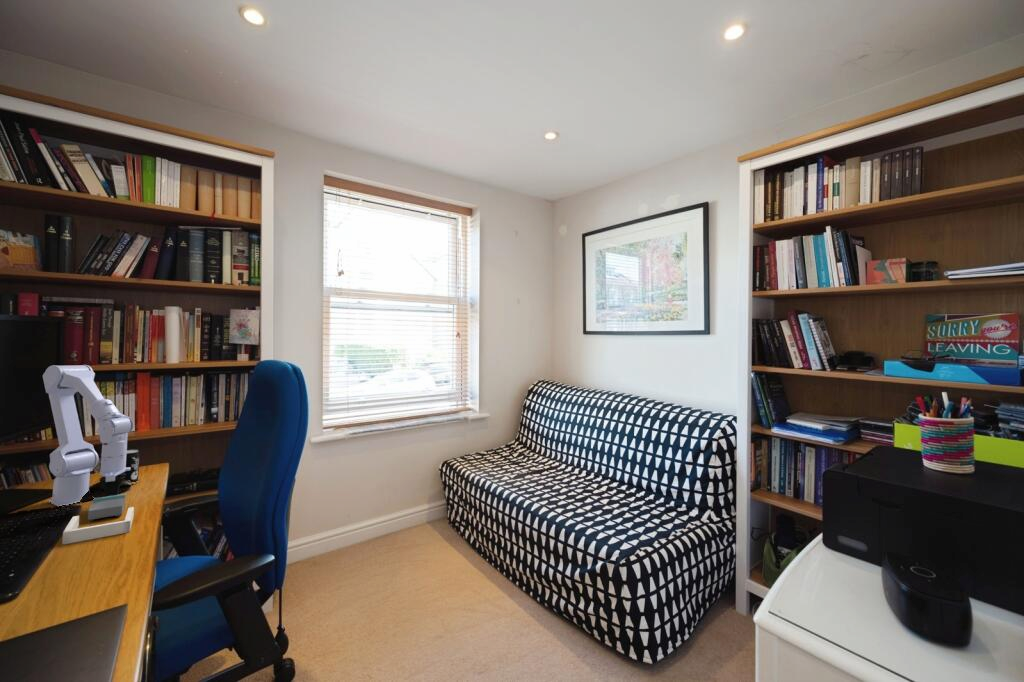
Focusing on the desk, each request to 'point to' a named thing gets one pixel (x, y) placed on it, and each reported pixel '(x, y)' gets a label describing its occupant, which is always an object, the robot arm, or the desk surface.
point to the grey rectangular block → (106, 507)
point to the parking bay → (96, 529)
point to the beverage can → (132, 465)
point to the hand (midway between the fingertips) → (111, 499)
